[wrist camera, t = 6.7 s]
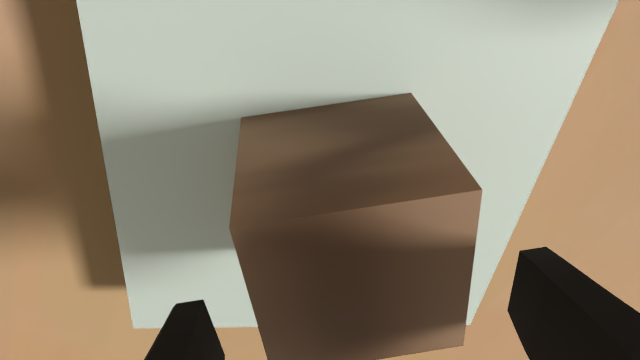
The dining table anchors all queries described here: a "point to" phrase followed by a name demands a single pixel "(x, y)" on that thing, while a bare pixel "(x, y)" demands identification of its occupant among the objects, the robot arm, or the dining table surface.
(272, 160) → the walnut cube
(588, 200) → the dining table surface
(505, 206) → the base
